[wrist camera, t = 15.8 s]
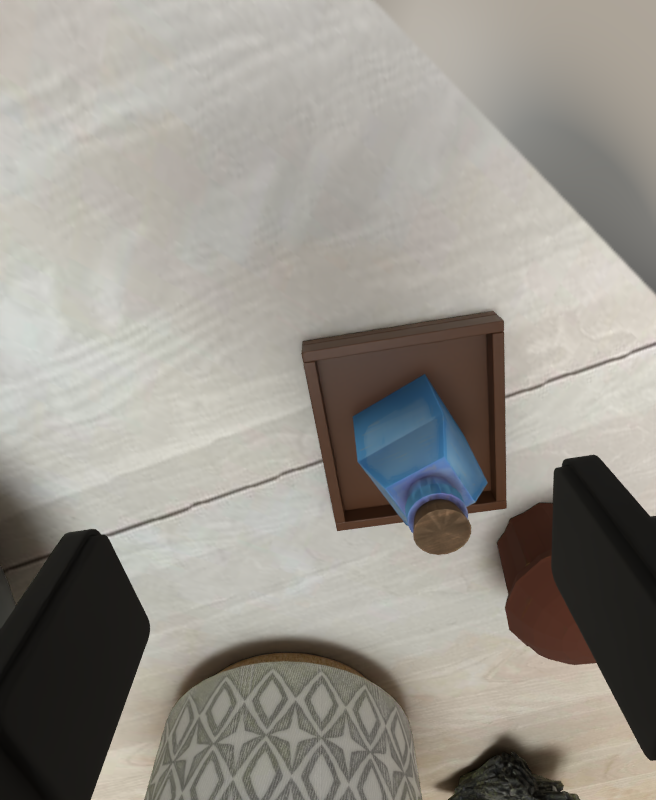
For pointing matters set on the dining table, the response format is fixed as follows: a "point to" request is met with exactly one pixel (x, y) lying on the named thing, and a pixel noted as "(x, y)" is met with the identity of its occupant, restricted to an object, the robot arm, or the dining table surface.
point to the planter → (286, 736)
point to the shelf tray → (388, 372)
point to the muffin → (538, 590)
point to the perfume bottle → (421, 464)
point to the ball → (5, 599)
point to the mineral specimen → (508, 782)
